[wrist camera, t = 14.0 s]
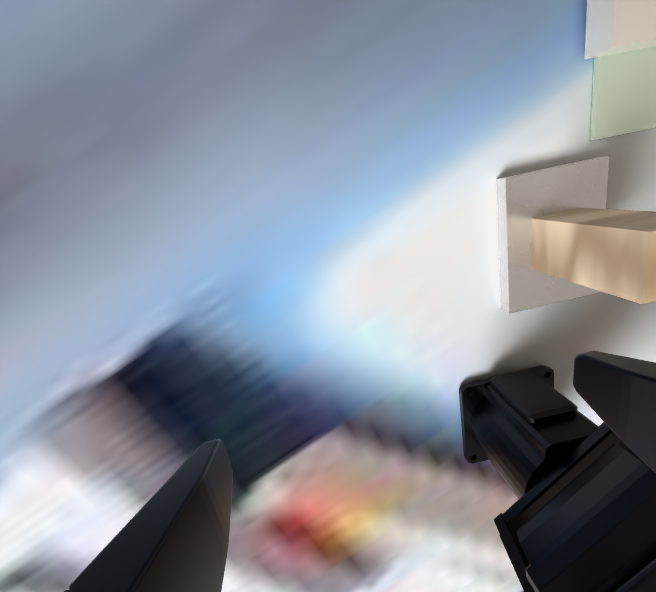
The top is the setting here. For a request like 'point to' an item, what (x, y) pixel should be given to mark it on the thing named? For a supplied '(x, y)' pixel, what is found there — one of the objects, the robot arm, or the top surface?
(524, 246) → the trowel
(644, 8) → the tile
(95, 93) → the top surface
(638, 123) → the mat
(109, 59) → the top surface
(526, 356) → the top surface
